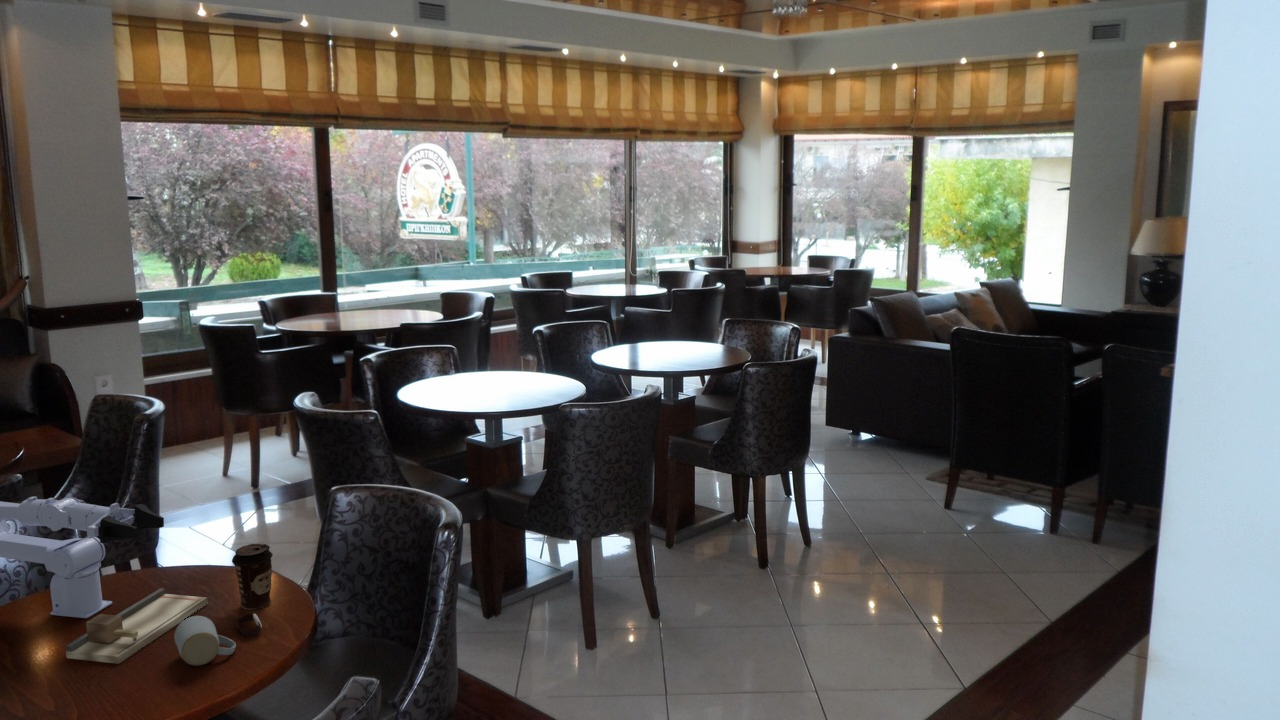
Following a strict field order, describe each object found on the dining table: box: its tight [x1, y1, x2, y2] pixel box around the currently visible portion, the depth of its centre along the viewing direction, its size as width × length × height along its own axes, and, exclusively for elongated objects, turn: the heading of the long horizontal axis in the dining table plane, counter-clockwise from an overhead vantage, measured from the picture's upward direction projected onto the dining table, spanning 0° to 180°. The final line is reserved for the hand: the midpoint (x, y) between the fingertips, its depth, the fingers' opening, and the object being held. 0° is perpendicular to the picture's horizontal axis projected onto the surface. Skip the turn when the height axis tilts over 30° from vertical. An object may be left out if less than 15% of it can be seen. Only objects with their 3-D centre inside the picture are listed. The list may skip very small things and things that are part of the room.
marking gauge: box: [85, 613, 138, 643], centre depth 204 cm, size 10×4×4 cm, turn 78°
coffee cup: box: [231, 543, 274, 611], centre depth 223 cm, size 9×8×13 cm
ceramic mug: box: [173, 615, 237, 667], centre depth 200 cm, size 11×8×8 cm
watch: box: [236, 613, 263, 638], centre depth 211 cm, size 8×5×4 cm, turn 37°
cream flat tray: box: [65, 587, 209, 664], centre depth 212 cm, size 12×28×3 cm, turn 168°
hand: (149, 527), depth 213 cm, fingers open, 7 cm apart
